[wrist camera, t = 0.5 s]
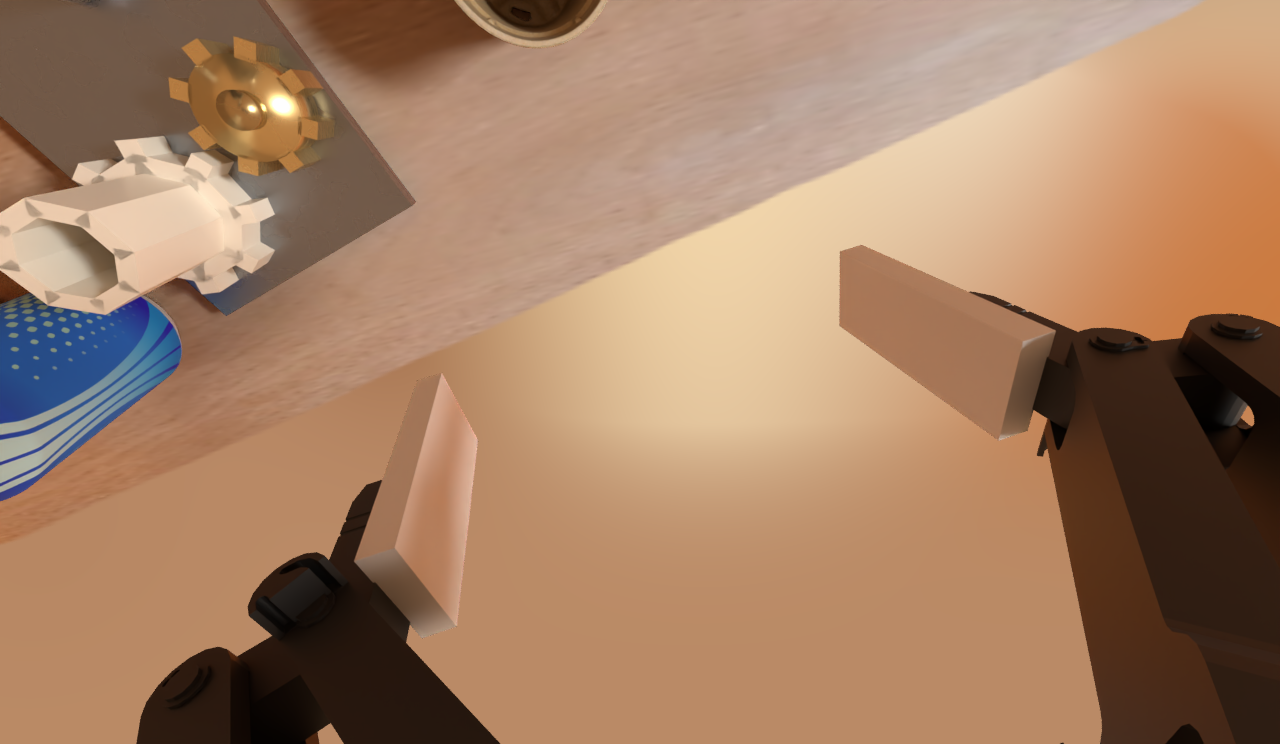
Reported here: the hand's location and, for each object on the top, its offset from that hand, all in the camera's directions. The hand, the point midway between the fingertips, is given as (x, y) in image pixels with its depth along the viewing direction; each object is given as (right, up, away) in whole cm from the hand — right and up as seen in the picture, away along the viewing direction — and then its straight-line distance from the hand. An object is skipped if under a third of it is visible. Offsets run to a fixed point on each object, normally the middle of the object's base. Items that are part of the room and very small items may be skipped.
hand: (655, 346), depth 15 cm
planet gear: (-30, +10, +16) cm, 35 cm away
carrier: (-29, +16, +14) cm, 36 cm away
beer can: (-39, +2, +20) cm, 44 cm away
